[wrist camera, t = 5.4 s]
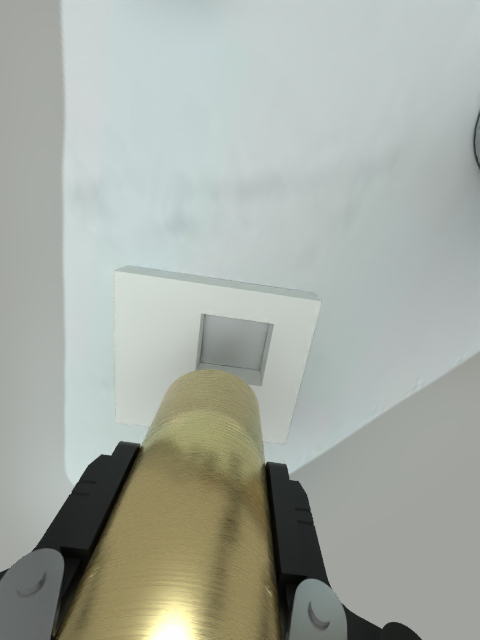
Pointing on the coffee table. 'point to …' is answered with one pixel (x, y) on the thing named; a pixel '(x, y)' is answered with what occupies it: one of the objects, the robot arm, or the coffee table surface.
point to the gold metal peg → (187, 528)
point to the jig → (186, 338)
